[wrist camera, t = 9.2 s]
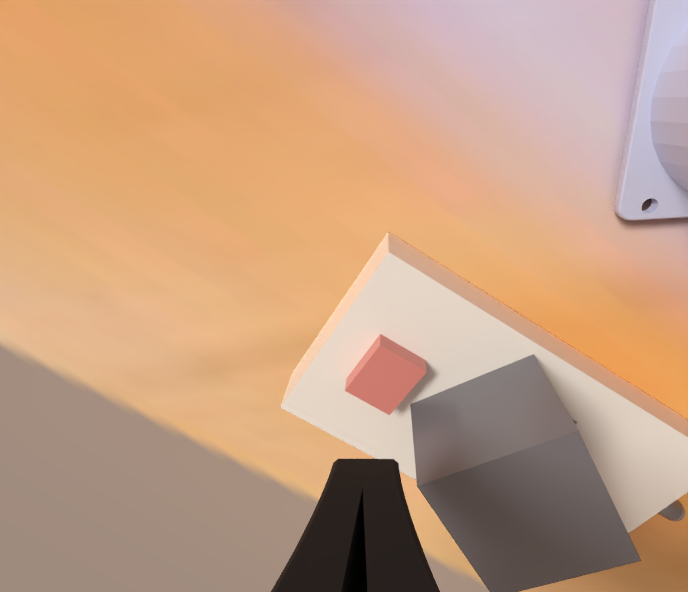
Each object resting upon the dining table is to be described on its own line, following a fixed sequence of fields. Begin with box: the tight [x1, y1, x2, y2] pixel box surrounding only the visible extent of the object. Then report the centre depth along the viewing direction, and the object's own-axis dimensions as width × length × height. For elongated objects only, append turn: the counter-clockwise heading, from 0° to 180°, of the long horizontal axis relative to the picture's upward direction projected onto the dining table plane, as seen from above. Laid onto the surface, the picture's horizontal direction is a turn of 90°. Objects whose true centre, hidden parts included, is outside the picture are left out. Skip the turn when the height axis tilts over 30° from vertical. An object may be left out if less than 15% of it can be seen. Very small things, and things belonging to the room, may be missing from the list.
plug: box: [410, 354, 641, 592], centre depth 16 cm, size 5×6×6 cm
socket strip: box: [280, 232, 688, 533], centre depth 18 cm, size 20×8×3 cm, turn 59°
